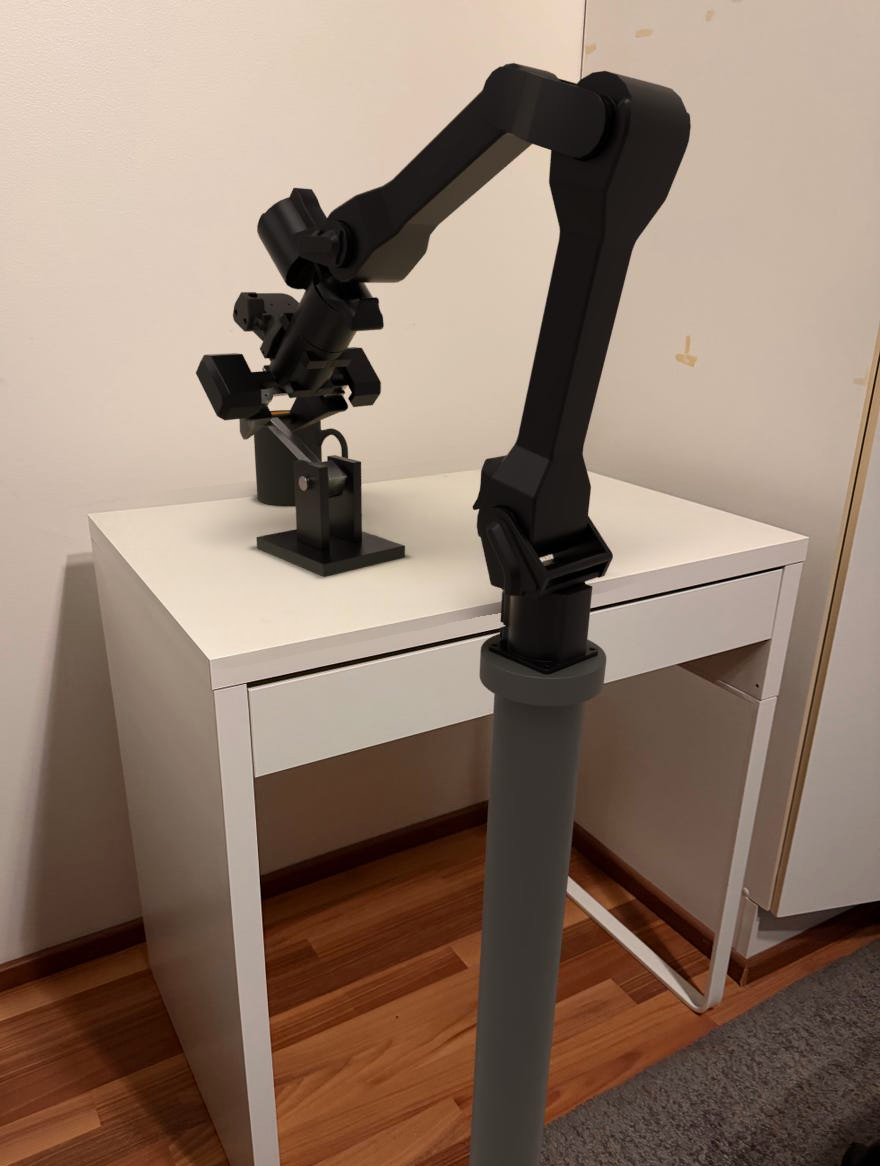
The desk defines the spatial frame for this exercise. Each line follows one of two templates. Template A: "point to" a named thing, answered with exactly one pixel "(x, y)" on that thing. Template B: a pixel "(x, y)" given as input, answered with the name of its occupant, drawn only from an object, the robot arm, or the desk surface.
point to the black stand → (329, 524)
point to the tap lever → (306, 452)
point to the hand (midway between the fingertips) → (265, 433)
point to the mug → (285, 461)
